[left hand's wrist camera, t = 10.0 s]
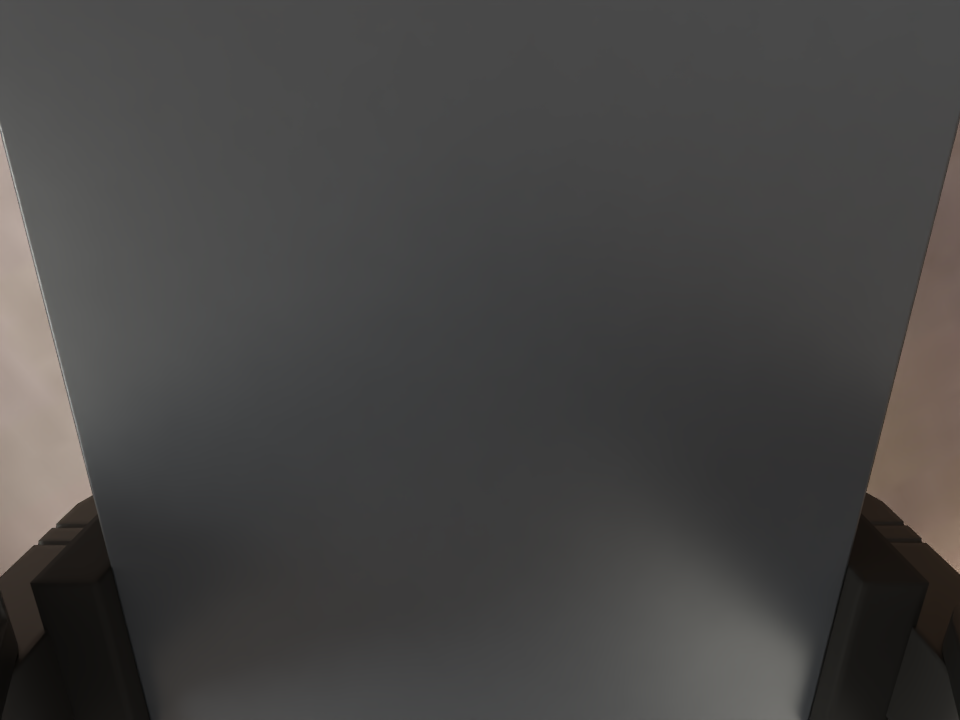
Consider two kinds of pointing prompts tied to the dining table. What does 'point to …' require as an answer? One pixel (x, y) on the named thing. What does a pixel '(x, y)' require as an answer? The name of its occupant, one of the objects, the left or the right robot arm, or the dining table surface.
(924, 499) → the dining table surface
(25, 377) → the dining table surface
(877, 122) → the wide beam
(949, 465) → the dining table surface
